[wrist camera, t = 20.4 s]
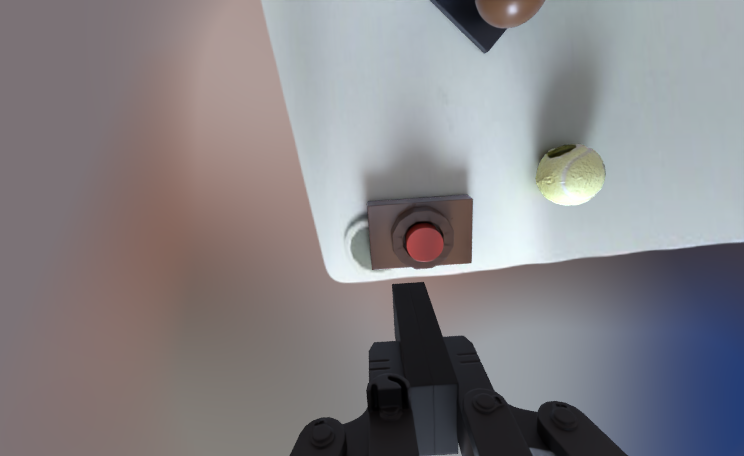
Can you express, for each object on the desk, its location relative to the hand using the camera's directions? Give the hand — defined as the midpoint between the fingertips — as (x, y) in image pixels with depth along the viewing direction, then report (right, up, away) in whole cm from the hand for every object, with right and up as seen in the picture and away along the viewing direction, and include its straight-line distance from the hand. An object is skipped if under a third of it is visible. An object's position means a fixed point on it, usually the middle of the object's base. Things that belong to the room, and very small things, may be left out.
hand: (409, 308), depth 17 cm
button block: (+4, +4, +27) cm, 27 cm away
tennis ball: (+19, +10, +25) cm, 33 cm away
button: (+4, +3, +23) cm, 24 cm away
